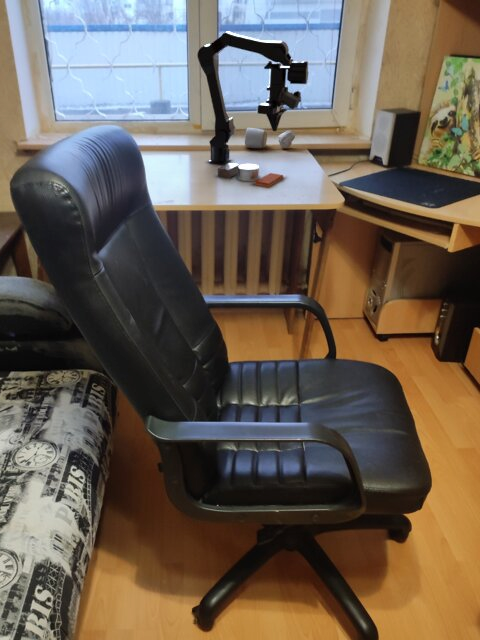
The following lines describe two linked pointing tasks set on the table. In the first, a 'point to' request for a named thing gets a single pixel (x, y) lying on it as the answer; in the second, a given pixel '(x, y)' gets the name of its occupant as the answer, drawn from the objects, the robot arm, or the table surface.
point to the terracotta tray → (268, 180)
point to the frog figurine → (286, 139)
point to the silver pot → (248, 172)
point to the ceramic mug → (255, 138)
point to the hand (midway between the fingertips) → (274, 131)
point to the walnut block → (228, 170)
